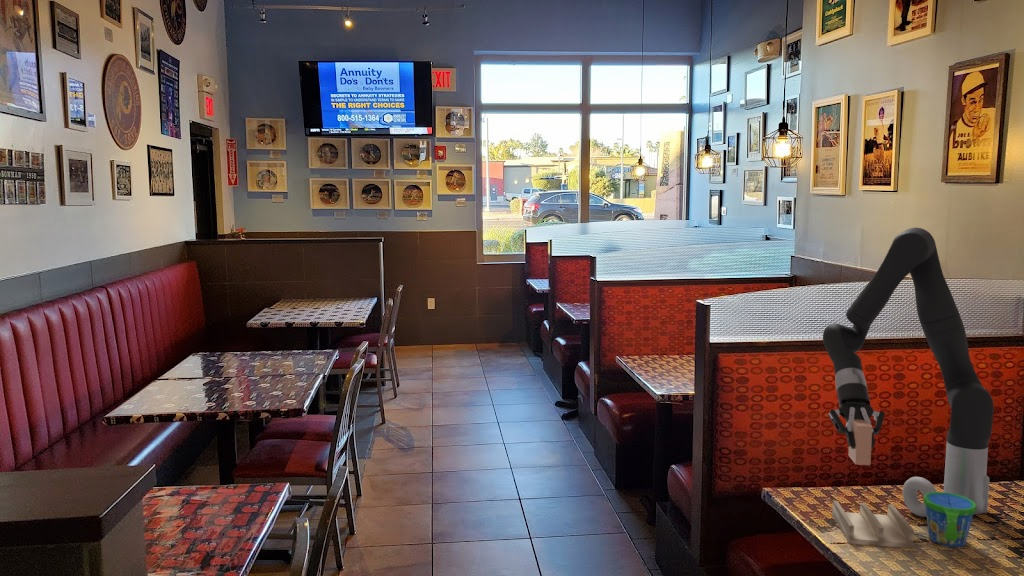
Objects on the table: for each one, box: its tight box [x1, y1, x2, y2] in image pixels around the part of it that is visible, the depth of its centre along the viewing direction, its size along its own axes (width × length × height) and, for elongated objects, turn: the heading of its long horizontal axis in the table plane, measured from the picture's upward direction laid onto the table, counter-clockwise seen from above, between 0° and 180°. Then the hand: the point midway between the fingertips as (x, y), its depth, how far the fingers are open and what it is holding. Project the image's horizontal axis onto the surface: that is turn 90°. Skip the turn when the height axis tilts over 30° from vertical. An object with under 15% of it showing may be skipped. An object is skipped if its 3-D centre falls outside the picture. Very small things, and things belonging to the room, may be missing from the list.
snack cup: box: [923, 491, 976, 548], centre depth 176 cm, size 16×10×10 cm
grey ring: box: [902, 476, 938, 518], centre depth 191 cm, size 10×4×10 cm, turn 18°
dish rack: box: [831, 500, 915, 549], centre depth 182 cm, size 14×16×4 cm
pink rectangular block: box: [848, 419, 873, 466], centre depth 192 cm, size 4×7×10 cm, turn 169°
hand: (862, 447), depth 190 cm, fingers closed on pink rectangular block, 3 cm apart
